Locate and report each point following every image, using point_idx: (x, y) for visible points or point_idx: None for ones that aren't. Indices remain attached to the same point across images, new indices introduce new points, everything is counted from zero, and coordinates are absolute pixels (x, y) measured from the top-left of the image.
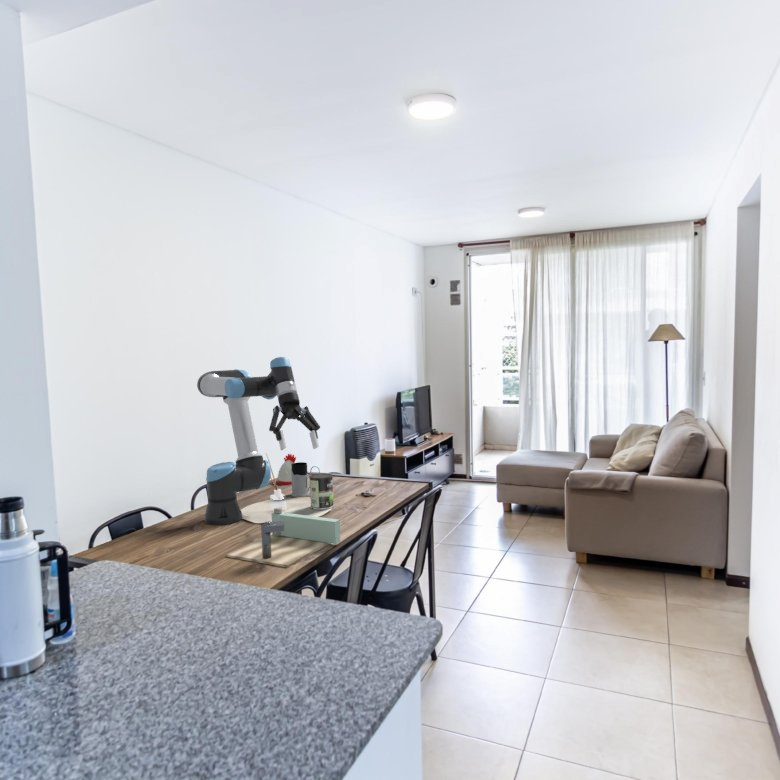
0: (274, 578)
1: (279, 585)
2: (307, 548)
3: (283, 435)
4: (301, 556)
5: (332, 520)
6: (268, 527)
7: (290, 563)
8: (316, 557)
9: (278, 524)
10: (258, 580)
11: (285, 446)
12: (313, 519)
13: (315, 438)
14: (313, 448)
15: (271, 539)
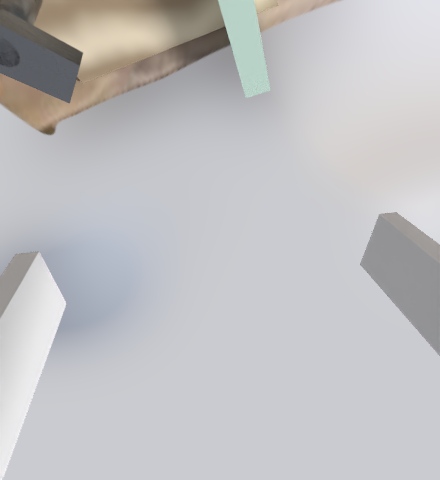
0: (46, 105)
1: (53, 133)
2: (168, 17)
3: (19, 428)
4: (129, 60)
5: (252, 82)
6: (14, 76)
7: (91, 79)
8: (164, 74)
9: (52, 85)
10: (9, 93)
11: (58, 309)
12: (223, 16)
13: (411, 318)
14: (379, 221)
15: None
